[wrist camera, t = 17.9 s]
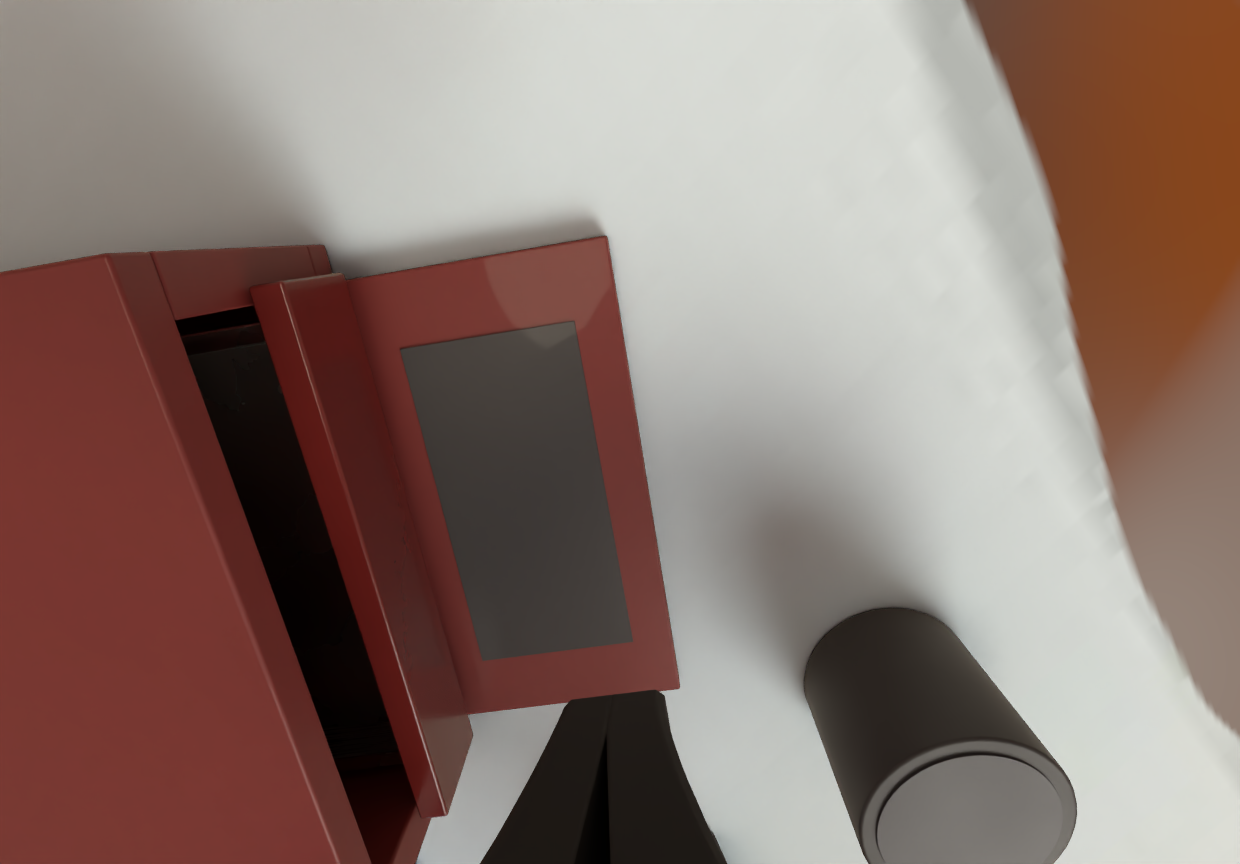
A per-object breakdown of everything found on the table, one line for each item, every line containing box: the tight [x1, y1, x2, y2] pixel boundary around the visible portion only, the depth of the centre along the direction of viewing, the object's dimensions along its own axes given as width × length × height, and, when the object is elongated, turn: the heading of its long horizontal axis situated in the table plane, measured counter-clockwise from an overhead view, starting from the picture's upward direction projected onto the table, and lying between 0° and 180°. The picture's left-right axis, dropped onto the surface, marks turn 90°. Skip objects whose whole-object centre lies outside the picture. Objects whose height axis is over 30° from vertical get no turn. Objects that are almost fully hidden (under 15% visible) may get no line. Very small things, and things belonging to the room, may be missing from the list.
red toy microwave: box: [0, 236, 680, 864], centre depth 16 cm, size 22×16×8 cm
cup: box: [804, 608, 1077, 864], centre depth 18 cm, size 5×5×6 cm
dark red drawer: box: [179, 273, 473, 818], centre depth 17 cm, size 13×14×3 cm
